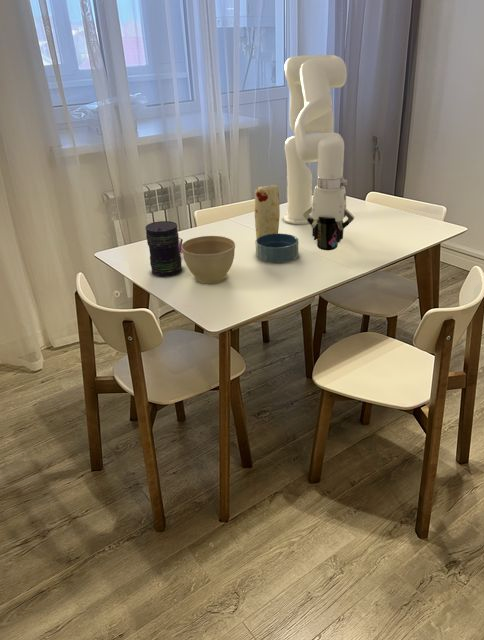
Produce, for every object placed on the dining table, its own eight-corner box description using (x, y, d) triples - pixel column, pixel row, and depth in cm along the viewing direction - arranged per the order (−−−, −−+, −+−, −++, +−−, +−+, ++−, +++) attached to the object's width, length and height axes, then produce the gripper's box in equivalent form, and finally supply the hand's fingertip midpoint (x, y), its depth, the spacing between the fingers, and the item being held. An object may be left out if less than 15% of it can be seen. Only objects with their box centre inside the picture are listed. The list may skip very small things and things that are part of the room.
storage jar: (155, 265, 177) (148, 221, 169) (184, 265, 177) (179, 220, 169) (148, 277, 169) (141, 231, 161) (179, 277, 168) (174, 231, 160)
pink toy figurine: (167, 232, 185) (179, 239, 179) (180, 234, 188) (193, 240, 182) (163, 251, 187) (176, 258, 181) (176, 252, 191) (189, 259, 184)
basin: (264, 247, 189) (264, 231, 186) (303, 250, 185) (303, 235, 182) (250, 261, 178) (249, 245, 175) (291, 266, 173) (291, 249, 170)
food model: (261, 246, 189) (260, 189, 179) (251, 241, 194) (248, 185, 184) (284, 240, 194) (283, 184, 184) (273, 235, 199) (272, 180, 188)
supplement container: (325, 252, 167) (327, 220, 161) (312, 246, 172) (313, 214, 166) (342, 247, 170) (344, 215, 164) (328, 241, 175) (329, 210, 169)
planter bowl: (194, 292, 158) (190, 257, 152) (179, 273, 171) (175, 240, 165) (244, 282, 163) (243, 248, 158) (226, 264, 176) (224, 232, 170)
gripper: (361, 181, 160) (357, 238, 170) (305, 177, 165) (304, 233, 175) (356, 188, 154) (352, 246, 164) (298, 184, 160) (297, 241, 169)
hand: (327, 239), depth 169 cm, fingers closed on supplement container, 6 cm apart
